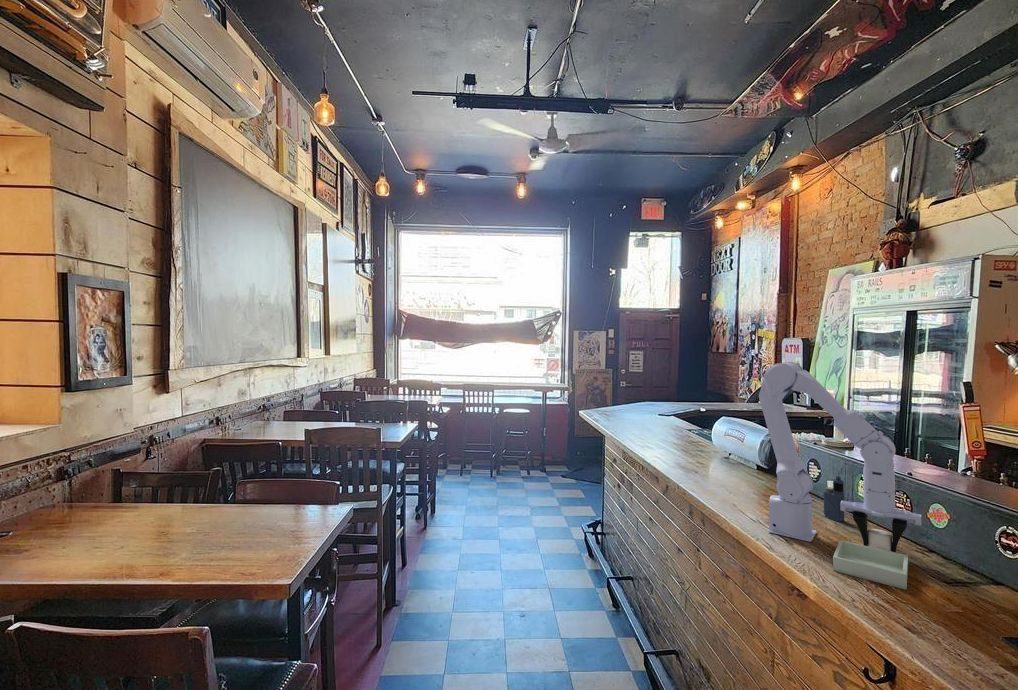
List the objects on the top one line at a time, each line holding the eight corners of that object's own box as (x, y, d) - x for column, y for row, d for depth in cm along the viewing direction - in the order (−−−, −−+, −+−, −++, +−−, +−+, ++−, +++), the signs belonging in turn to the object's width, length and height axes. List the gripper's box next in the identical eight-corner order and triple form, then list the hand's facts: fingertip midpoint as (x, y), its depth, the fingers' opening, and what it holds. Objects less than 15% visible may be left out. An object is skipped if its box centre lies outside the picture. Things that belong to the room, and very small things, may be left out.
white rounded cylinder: (867, 554, 106) (866, 533, 106) (868, 548, 110) (868, 527, 110) (891, 560, 103) (891, 538, 103) (892, 553, 107) (892, 532, 107)
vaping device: (839, 522, 125) (838, 478, 125) (821, 515, 130) (821, 473, 130) (846, 521, 126) (846, 477, 126) (828, 514, 131) (828, 472, 131)
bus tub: (833, 570, 99) (832, 556, 99) (840, 552, 107) (839, 540, 107) (906, 589, 91) (906, 574, 91) (908, 569, 99) (907, 555, 99)
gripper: (838, 487, 108) (839, 545, 108) (920, 500, 99) (921, 563, 99) (842, 480, 114) (843, 535, 114) (921, 492, 104) (922, 552, 104)
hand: (879, 548), depth 106 cm, fingers closed on white rounded cylinder, 4 cm apart
